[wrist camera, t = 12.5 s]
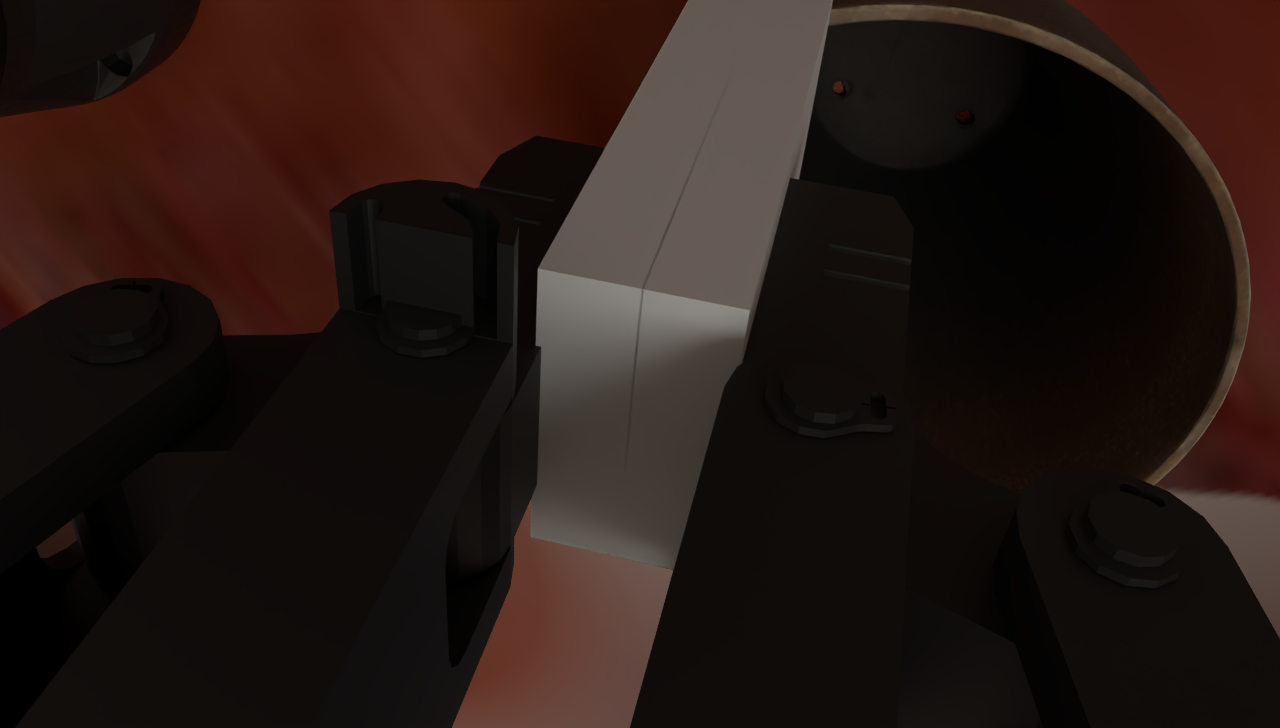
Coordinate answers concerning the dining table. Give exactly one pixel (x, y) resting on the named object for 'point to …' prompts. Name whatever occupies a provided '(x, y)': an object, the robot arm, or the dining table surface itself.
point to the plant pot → (1038, 234)
